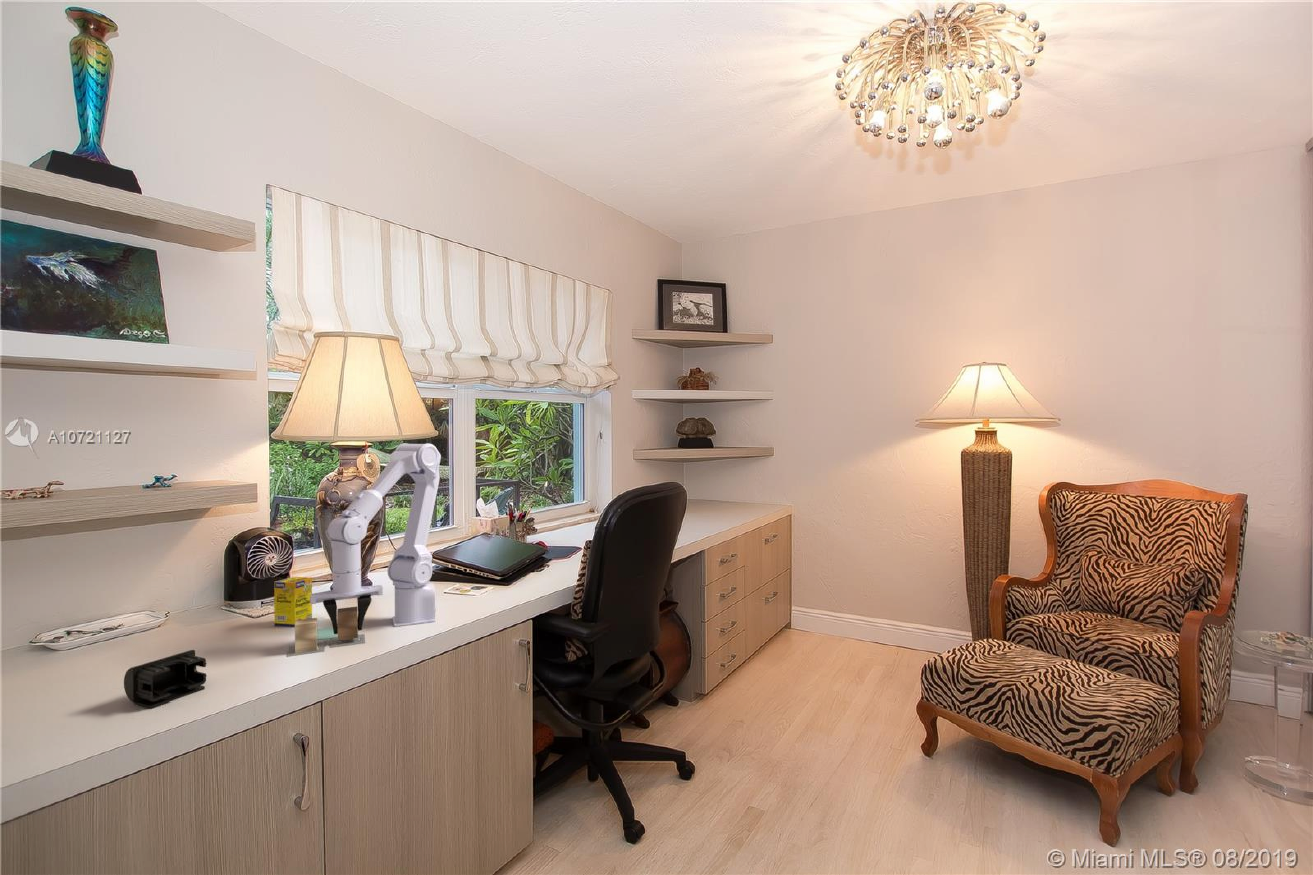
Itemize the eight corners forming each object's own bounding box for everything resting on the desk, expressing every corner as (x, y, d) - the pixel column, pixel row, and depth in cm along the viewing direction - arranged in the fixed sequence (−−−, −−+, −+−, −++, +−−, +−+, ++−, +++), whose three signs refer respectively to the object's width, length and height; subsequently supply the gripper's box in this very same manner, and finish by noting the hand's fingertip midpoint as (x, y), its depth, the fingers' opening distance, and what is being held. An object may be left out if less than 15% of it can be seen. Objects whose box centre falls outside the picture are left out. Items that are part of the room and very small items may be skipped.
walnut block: (357, 632, 145) (357, 606, 145) (357, 637, 142) (357, 610, 142) (338, 635, 144) (337, 608, 143) (337, 640, 140) (337, 613, 140)
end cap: (185, 683, 120) (185, 647, 120) (209, 689, 117) (208, 652, 117) (123, 704, 111) (122, 665, 111) (147, 711, 108) (146, 671, 108)
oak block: (317, 644, 140) (317, 617, 140) (316, 650, 136) (316, 622, 136) (296, 647, 138) (296, 620, 138) (295, 653, 135) (294, 625, 135)
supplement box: (295, 628, 153) (294, 582, 153) (273, 626, 154) (273, 581, 154) (313, 620, 159) (312, 577, 159) (292, 619, 160) (291, 576, 160)
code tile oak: (325, 642, 142) (325, 641, 142) (324, 652, 136) (324, 651, 136) (289, 647, 139) (289, 646, 139) (286, 657, 133) (286, 656, 133)
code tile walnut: (364, 634, 147) (364, 633, 147) (365, 643, 141) (365, 643, 141) (330, 639, 144) (330, 638, 144) (329, 648, 138) (329, 647, 138)
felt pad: (341, 627, 153) (340, 625, 153) (340, 638, 145) (340, 636, 145) (298, 632, 149) (298, 631, 149) (295, 643, 141) (295, 642, 141)
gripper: (379, 563, 150) (380, 621, 150) (309, 571, 142) (310, 631, 142) (383, 569, 144) (384, 629, 144) (310, 577, 136) (311, 640, 136)
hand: (347, 631), depth 143 cm, fingers closed on walnut block, 4 cm apart
